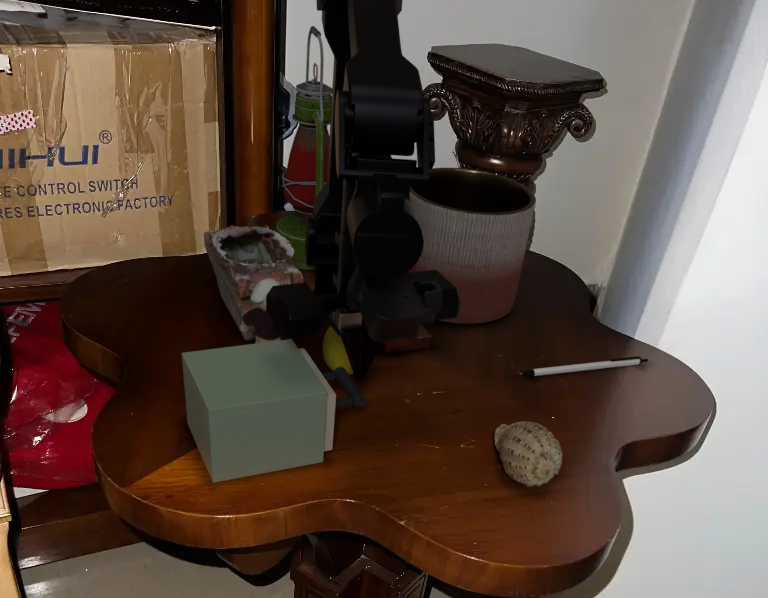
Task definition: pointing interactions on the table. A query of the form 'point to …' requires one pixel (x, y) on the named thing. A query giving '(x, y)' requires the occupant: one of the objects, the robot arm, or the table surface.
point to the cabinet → (254, 408)
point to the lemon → (335, 352)
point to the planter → (474, 237)
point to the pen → (586, 366)
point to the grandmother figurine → (261, 315)
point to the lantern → (307, 156)
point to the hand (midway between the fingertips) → (358, 376)
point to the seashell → (528, 452)
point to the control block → (408, 342)
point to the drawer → (349, 387)
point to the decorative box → (248, 265)
